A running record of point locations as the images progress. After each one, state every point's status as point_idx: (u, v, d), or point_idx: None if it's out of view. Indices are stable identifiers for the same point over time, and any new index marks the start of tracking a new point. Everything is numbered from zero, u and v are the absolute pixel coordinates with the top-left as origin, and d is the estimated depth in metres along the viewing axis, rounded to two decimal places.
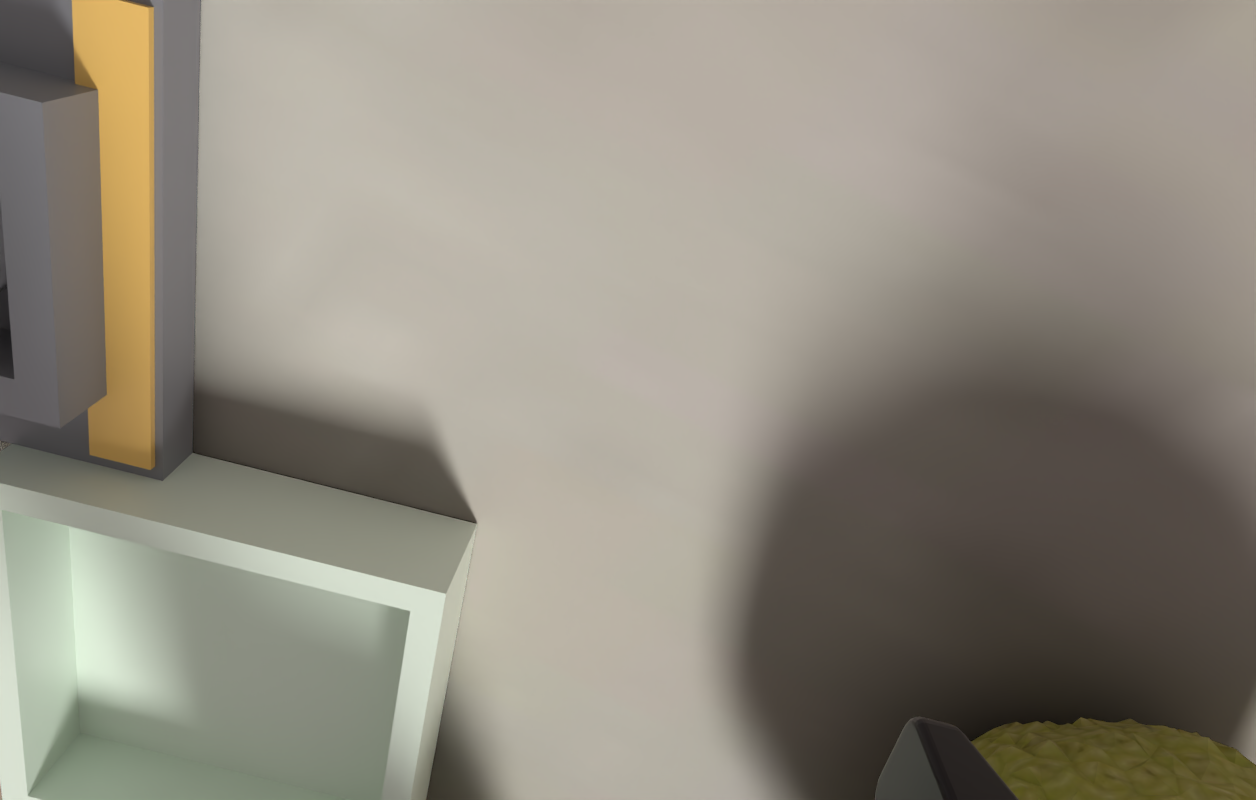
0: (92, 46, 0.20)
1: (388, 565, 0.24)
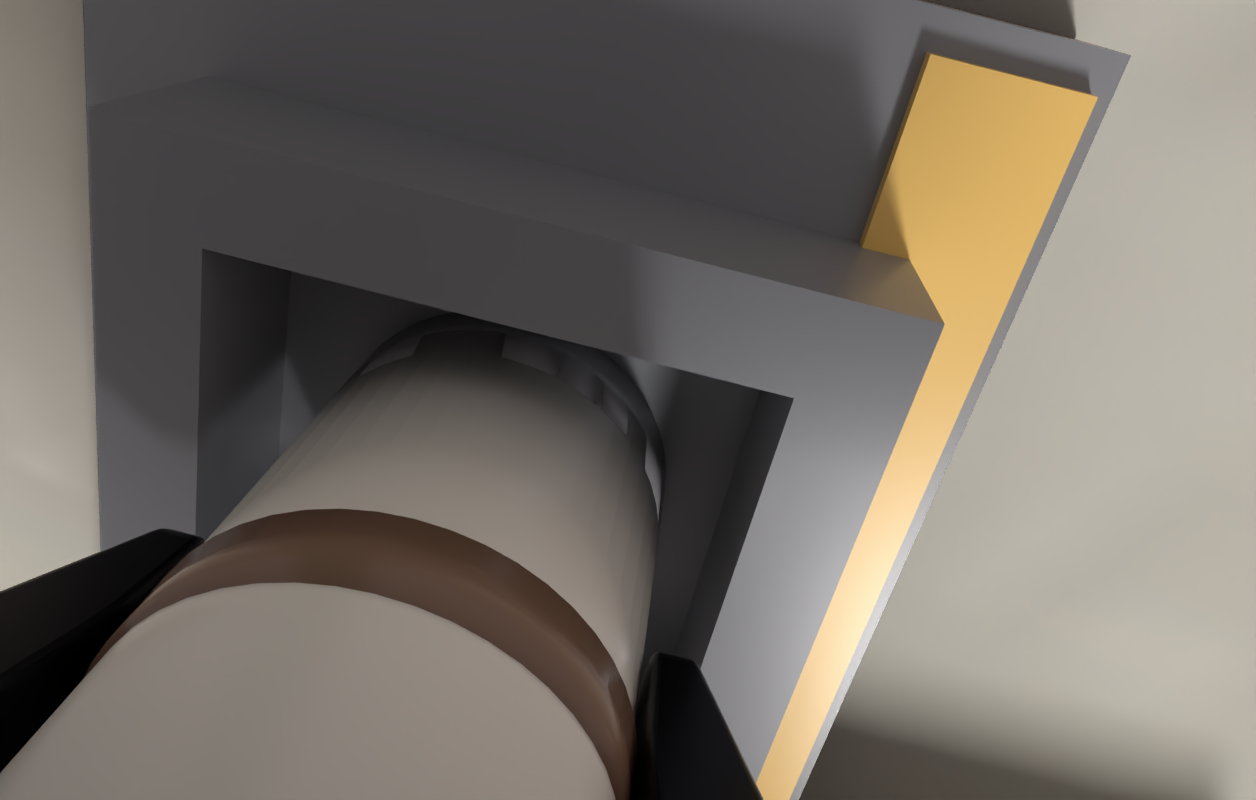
0: (932, 174, 0.09)
1: None
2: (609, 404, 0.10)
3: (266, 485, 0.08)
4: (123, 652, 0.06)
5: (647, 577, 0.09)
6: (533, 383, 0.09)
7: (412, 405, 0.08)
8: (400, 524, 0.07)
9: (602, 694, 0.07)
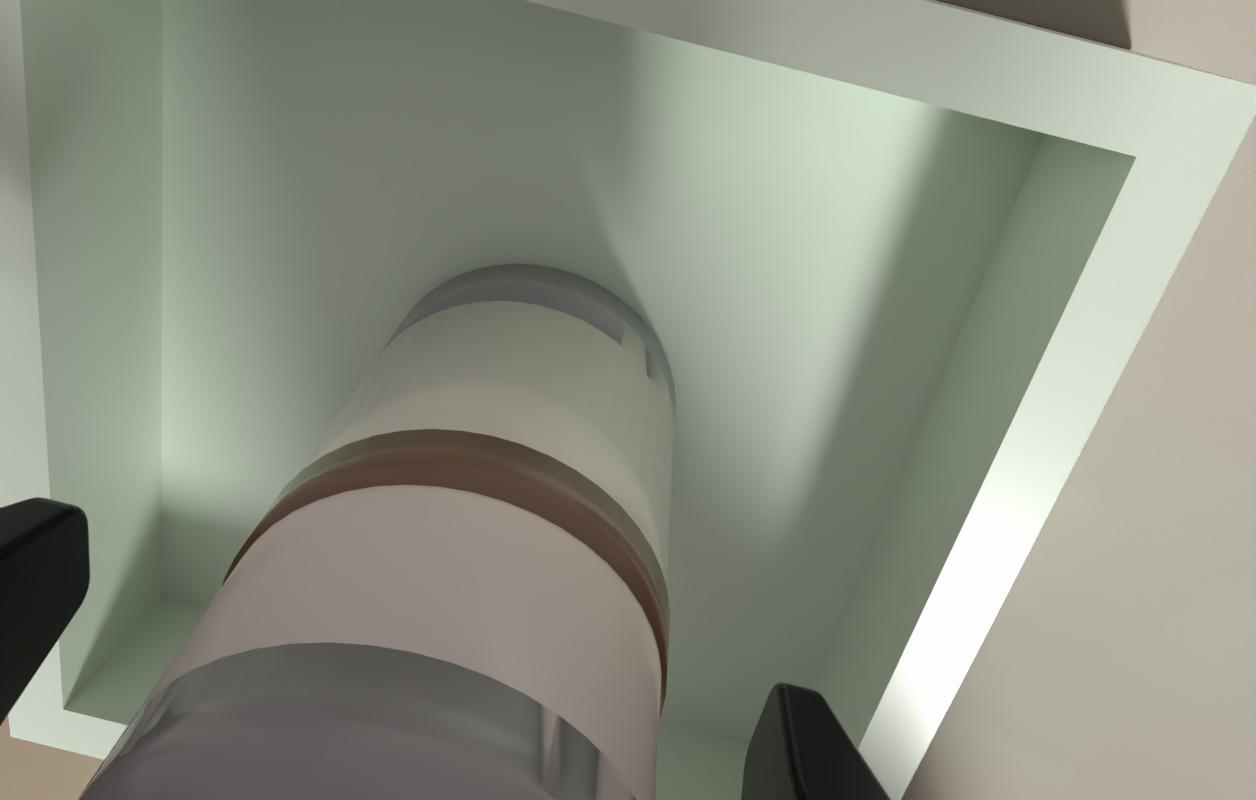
0: None
1: (1069, 37, 0.09)
2: (630, 344, 0.11)
3: (356, 414, 0.09)
4: (275, 541, 0.07)
5: (669, 488, 0.11)
6: (567, 326, 0.11)
7: (470, 347, 0.10)
8: (482, 440, 0.08)
9: (646, 573, 0.08)
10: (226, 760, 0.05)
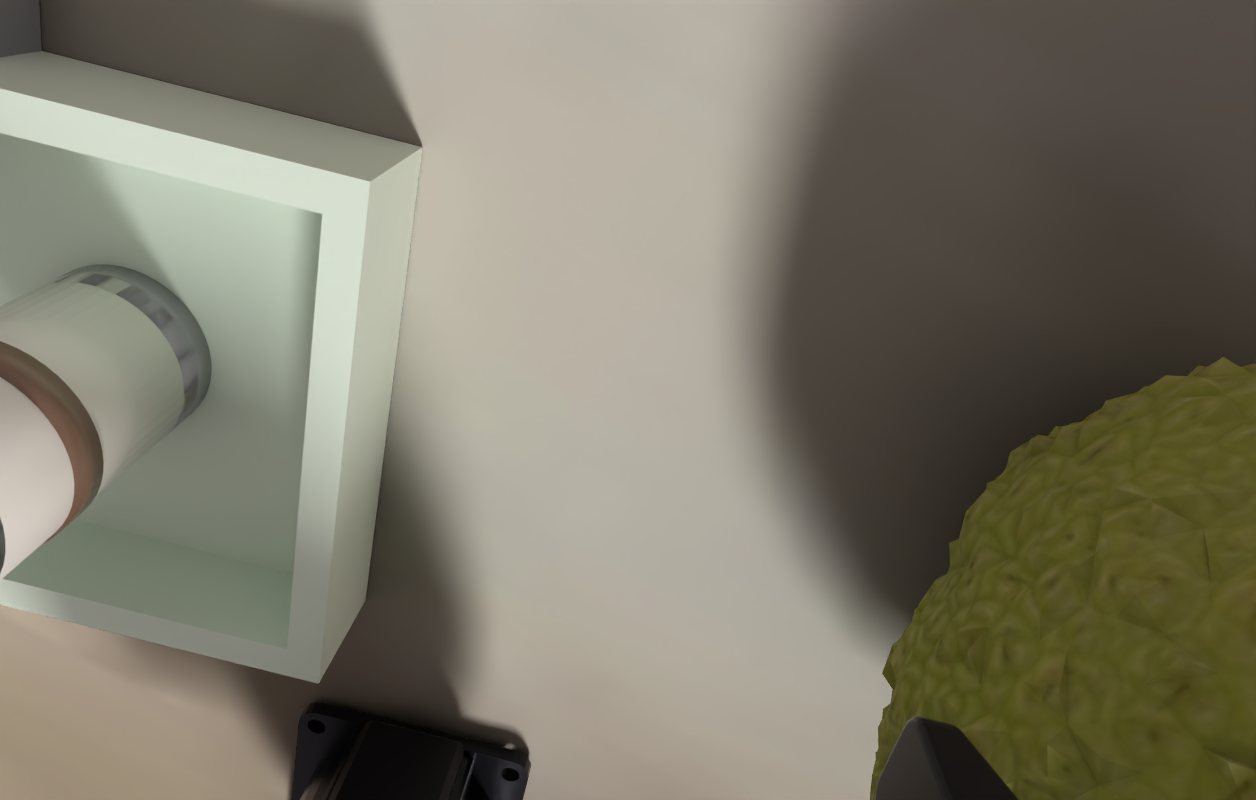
0: None
1: (293, 153, 0.17)
2: (150, 309, 0.20)
3: None
4: None
5: (146, 385, 0.19)
6: (98, 295, 0.19)
7: (24, 302, 0.18)
8: None
9: (61, 407, 0.17)
10: None
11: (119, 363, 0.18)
